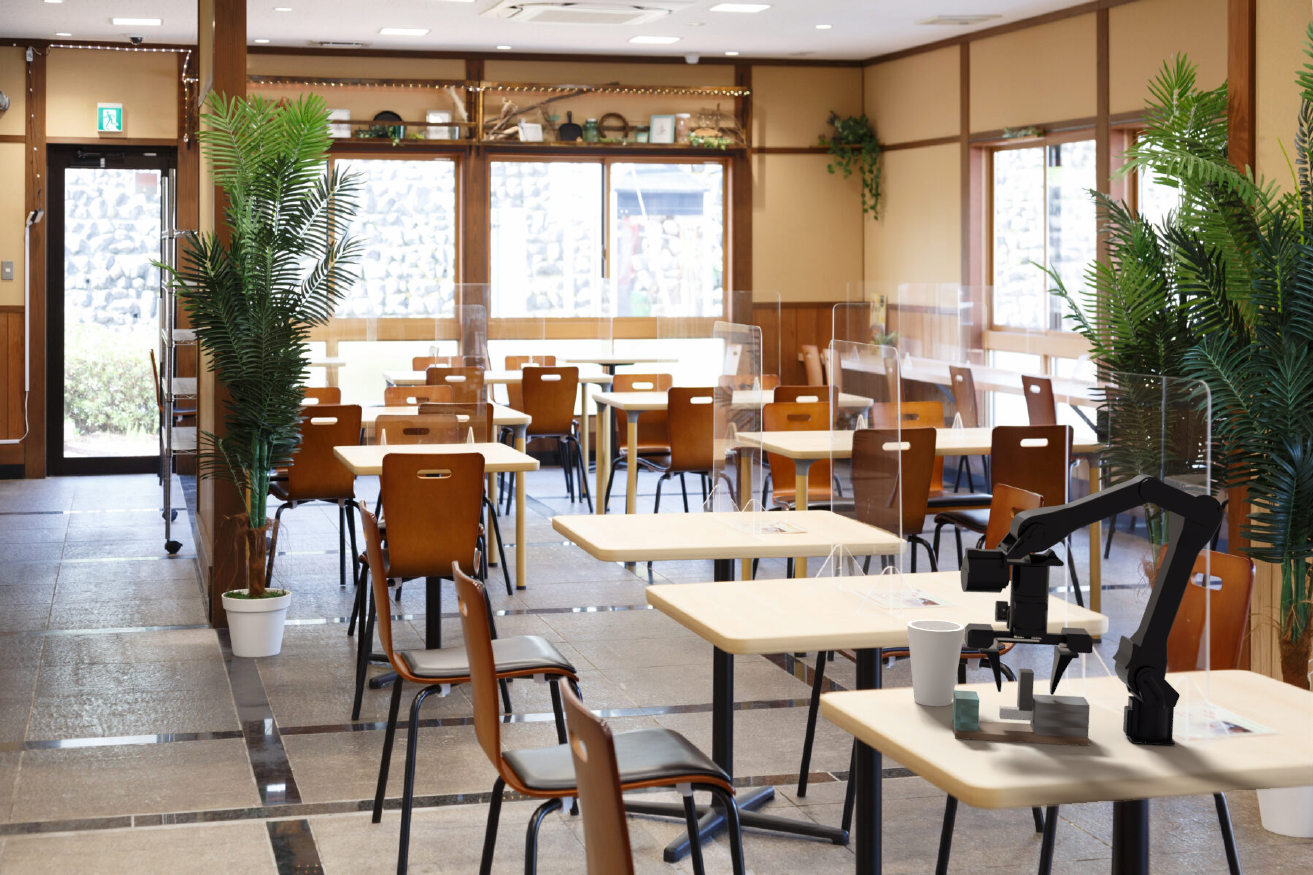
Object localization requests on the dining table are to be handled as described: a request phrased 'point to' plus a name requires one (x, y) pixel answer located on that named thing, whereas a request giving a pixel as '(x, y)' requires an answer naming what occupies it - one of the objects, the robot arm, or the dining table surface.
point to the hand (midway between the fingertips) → (1025, 692)
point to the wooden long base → (1051, 723)
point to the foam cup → (934, 659)
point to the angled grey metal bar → (1021, 699)
